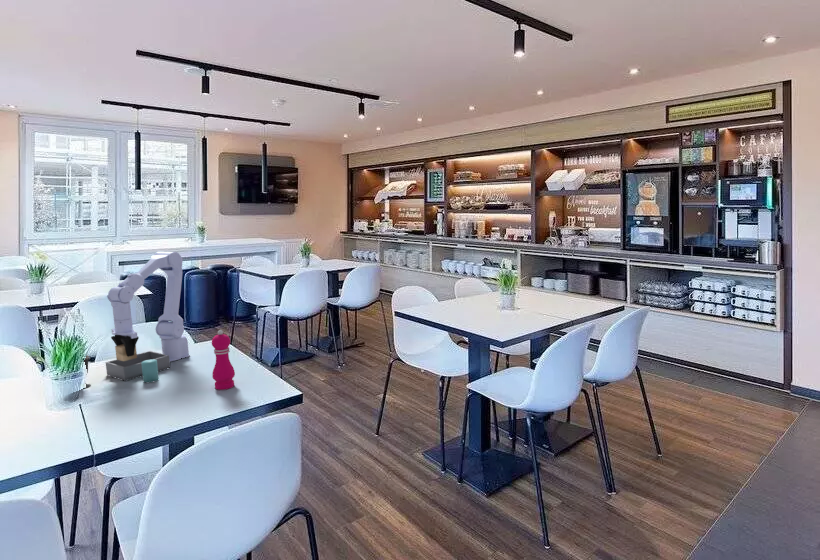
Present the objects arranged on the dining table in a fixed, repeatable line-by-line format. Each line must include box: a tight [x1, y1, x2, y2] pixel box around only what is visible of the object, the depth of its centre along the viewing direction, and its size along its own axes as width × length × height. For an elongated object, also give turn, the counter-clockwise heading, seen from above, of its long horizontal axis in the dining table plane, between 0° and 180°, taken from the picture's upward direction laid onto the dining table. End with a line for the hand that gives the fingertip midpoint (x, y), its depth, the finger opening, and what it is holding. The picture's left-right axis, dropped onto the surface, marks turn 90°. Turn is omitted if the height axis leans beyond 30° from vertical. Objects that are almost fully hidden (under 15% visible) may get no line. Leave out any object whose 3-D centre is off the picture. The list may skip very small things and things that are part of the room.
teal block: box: [141, 359, 160, 383], centre depth 184 cm, size 5×5×7 cm
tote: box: [105, 350, 171, 382], centre depth 195 cm, size 17×13×5 cm
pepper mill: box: [211, 329, 236, 391], centre depth 175 cm, size 7×7×20 cm
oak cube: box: [114, 344, 138, 361], centre depth 190 cm, size 5×5×5 cm
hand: (126, 354), depth 190 cm, fingers closed on oak cube, 5 cm apart
